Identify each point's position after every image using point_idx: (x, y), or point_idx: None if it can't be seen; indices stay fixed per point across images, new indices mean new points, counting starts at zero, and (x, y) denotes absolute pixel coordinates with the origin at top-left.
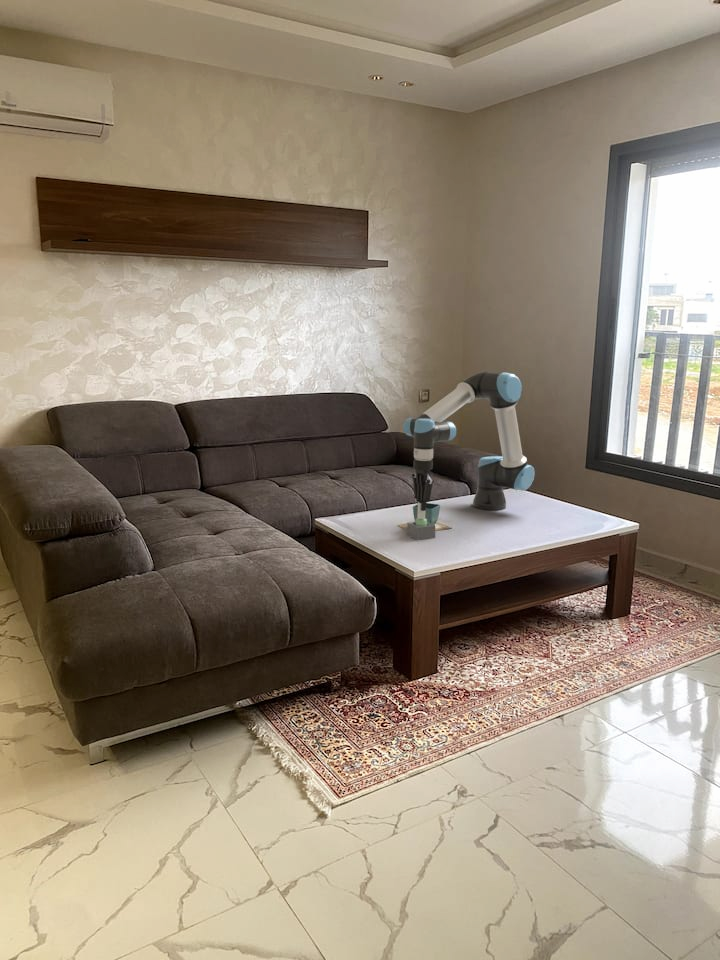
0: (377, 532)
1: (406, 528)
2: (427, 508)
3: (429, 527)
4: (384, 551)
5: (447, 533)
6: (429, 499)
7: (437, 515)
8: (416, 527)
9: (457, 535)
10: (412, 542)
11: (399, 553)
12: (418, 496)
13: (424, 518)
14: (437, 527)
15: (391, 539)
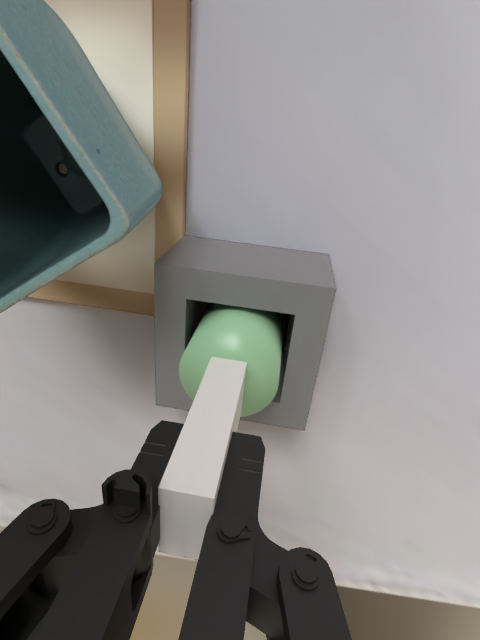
0: (81, 438)
1: (81, 300)
2: (77, 255)
3: (322, 336)
4: (355, 569)
5: (292, 77)
6: (339, 605)
7: (65, 40)
8: (286, 425)
9: (396, 27)
10: (322, 419)
11: (422, 551)
12: (129, 635)
13: (221, 344)
14: (140, 72)
15: None
